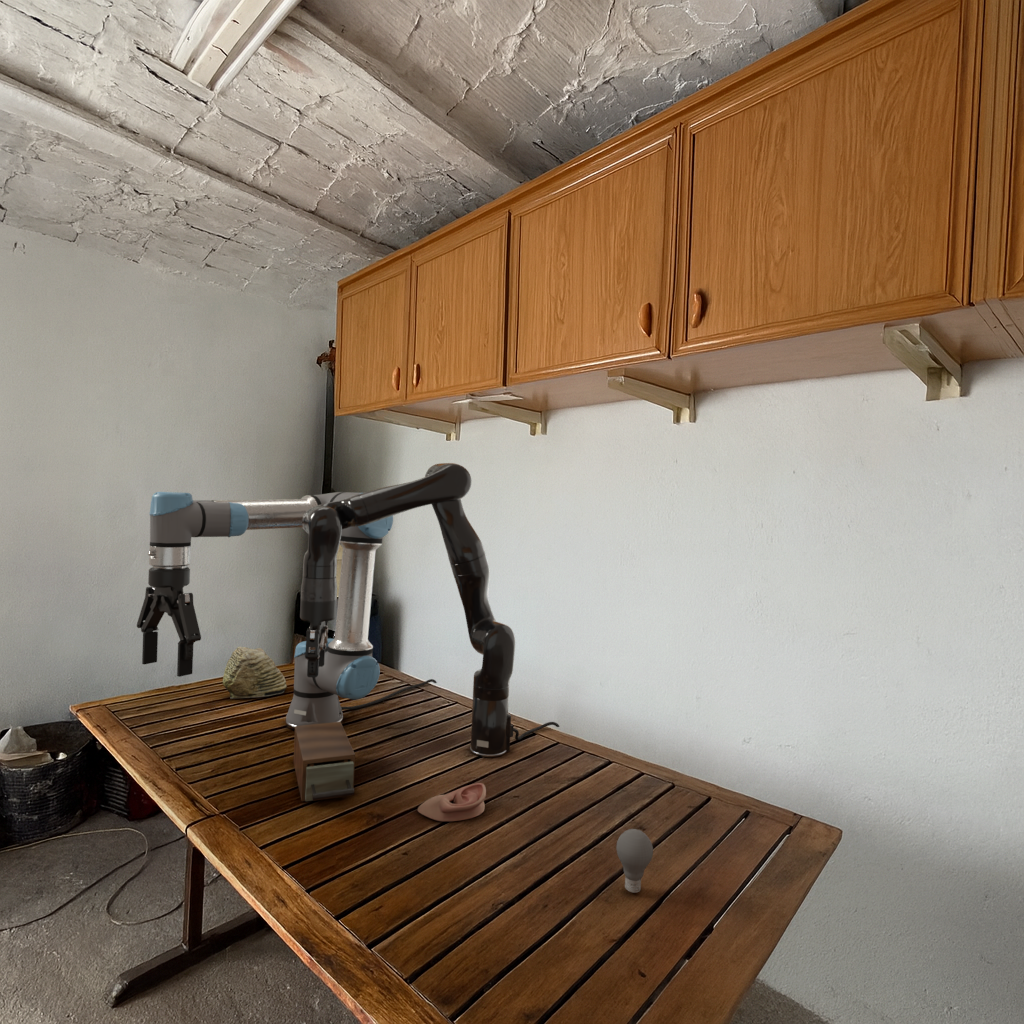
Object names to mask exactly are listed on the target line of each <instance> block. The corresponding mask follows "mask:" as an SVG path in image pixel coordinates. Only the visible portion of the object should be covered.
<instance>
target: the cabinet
mask: <svg viewBox="0 0 1024 1024" xmlns="http://www.w3.org/2000/svg"><path fill="white" fill-rule="evenodd" d="M293 738H294V740H293V766H294V771H295V776H296V781H297V786H298V792H299V796H300V800H301V801H300V802H307V801H306V800H305V792H306V767H307V764H312V763H321V762H329V761H337V760H346V759H348V762H351V761H353V763H354V768H355V767H356V766H355V765H356V763H355V762H356V753H355V751H354V748H353V747H352V744H351V742H350V739H349V737H348V735H347V732H346V730H345V729H344V726H343V724H342V723H341V722H333V723H322V724H312V725H302V726H295V730H294V737H293ZM354 787H355V770H354V771H353V788H354ZM354 789H355V788H354Z"/></svg>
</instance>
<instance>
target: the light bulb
mask: <svg viewBox="0 0 1024 1024" xmlns="http://www.w3.org/2000/svg"><path fill="white" fill-rule="evenodd" d="M615 849H616V854H617V857H618V859H619V861H620V863H621V865H622V867H623V873H624V874H623V875H624V876H625V878H624V888H625V890H627V891H628V892H630V893H634V894H635V893H639V892H640V891H641V889H642V887H641V886H642V879H643V877H644V875H645V871H646V868H647V867H648V866H649V864H650V863H651V861H652V859H653V855H654V847H653V843H652V841H651V838H649V836H648V835H647V834H646V833H645V832H643V831H642V830H641V829H636V828H629V829H627V830H625V831H623V832H622V833H621V834H620V835H619V837H618V839H617V841H616V847H615Z"/></svg>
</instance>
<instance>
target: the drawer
mask: <svg viewBox="0 0 1024 1024" xmlns="http://www.w3.org/2000/svg"><path fill="white" fill-rule="evenodd" d="M353 771H354V772H355V767H354V763H353V761H351V762H348V759H346V760H337V761H329V762H321V763H312V764H307V767H306V792H305V800H306V801H305V802H312V801H313V802H314V801H315V802H316V801H322V800H328V799H335V798H342V797H350V796H354V795H355V788H353Z"/></svg>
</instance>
